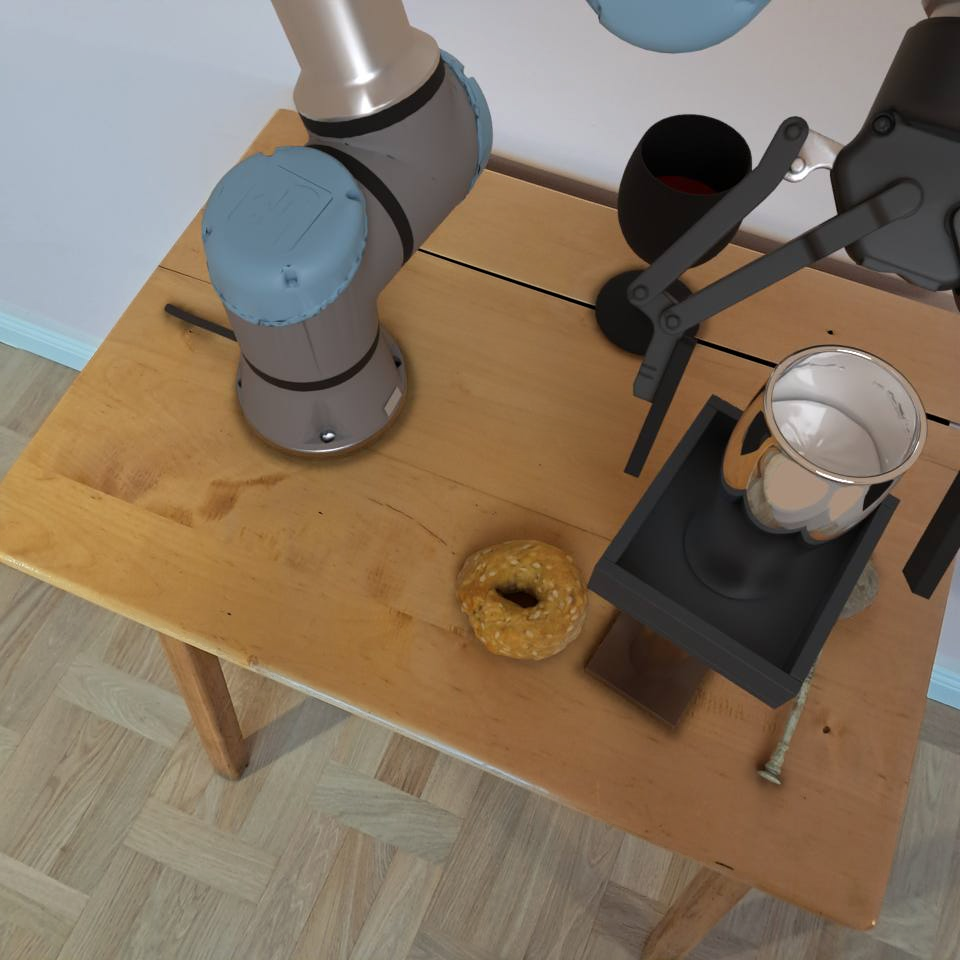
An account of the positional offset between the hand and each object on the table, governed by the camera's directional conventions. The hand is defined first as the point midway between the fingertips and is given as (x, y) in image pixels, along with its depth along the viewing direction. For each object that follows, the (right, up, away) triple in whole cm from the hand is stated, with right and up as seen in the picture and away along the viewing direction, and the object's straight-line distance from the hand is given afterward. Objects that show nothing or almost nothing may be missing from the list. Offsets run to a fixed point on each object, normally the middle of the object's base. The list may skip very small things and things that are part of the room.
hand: (770, 525), depth 41 cm
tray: (+1, -2, +9) cm, 9 cm away
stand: (0, -12, +29) cm, 32 cm away
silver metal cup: (+1, -2, +8) cm, 8 cm away
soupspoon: (+13, -12, +30) cm, 35 cm away
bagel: (-10, -8, +31) cm, 34 cm away
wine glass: (+3, +18, +45) cm, 48 cm away
